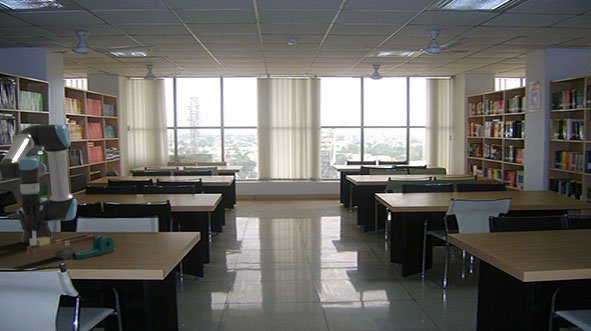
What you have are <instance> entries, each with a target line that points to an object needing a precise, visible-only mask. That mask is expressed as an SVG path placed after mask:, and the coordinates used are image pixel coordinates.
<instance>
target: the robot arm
mask: <svg viewBox="0 0 591 331" xmlns="http://www.w3.org/2000/svg"><path fill="white" fill-rule="evenodd" d="M71 138H72V137H71V134H70V131H69V128H68V127H67V126H66V125H65V124H56V123H55V124H33V125H30V126H27V127H25V128H23V129H22V130H20V131H19V132H18V133H16V135H15V136H14V137H13V143H12V144H11V146H10V148H9V149H8V151H7V152H6V153H5V155H4V157H3V158H2V159H1V161H0V180H17V179H19V184H20V185H19V187H20V193H21V194H20V199H21V200H20V201H21V205H20V208H19V209H17V210H15V213H16V215H18V220H19V222H20V225H21V229H22V230H23V233H22V236H21V243H23V244H29V246H31V245H32V246H34V245H37V242H36V238H39V237H44V236H45V237H50V241H53V239H54V238H53V237H54V236H53V233H52V231H51V229H50V227H49V222H58V221H59V222H60V221H61V222H62V221H71V220H74V219H75V217H76V214H77V209H78V200H77V199H76V198H74V196H73V194H72V193H70V185H69V175H68V165H67V157H66V152H67V151H68V149H69V147H70V146H71V143H72V140H71ZM33 148H43V150H44V152H45V153H46V154H47V159H48V160H47V161H48V167H49V168H48V169H49V175H50V184H51V186H50V187H51V193H52V195H51V196H50V197H49V199H48V198H47V197H41V193H40V191H41V190H40V178H42V177H43V176H44V175H45V174H46V173H47V166H46V164H45V163H43V162H42V161H39V160H38V159H37V158H34V157H33V158H31V157H30V158H25V157H26V155H27V154H28V152H29V151H30V150H32V149H33Z"/></svg>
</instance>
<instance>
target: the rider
mask: <svg viewBox="0 0 591 331" xmlns="http://www.w3.org/2000/svg"><path fill="white" fill-rule="evenodd" d="M36 242H37V245H34V247H41V246H46V245H50V242H51V240H50V237H45V236H44V237H39V238H36Z"/></svg>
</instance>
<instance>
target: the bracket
mask: <svg viewBox="0 0 591 331" xmlns="http://www.w3.org/2000/svg"><path fill="white" fill-rule="evenodd" d="M114 244H115V243H114V240H113V238H112V237H110V236H102V235H98V236H95V239H94V241H93V243H92V248H90V249H86V250H82V251H77V252H75V253H74V258H75V259H76V258H77V259H76V260H82V259H83V258H84V259H88V258H92V257H93V258H94V257H97V256H100V255H101V256H102V255H105V254H108V253H113V252H114V251H115V249H114V248H115V247H114V246H115V245H114Z"/></svg>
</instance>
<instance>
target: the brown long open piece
mask: <svg viewBox="0 0 591 331" xmlns="http://www.w3.org/2000/svg"><path fill="white" fill-rule="evenodd" d="M95 238H96V235H95V234H94V235H93V234H85V233H84V234H80V235H75V236H71V237H65V238H61V239H56V240H50V245H46V246H41V247H34V246H32V245H28V246H26V254H27V255H32V256H33V255H34V256H40V255H45V254H48V253H53V257H54V258H56V259H57V258H58V259H63V260H66V259H71V258H74V252H73V251H74V250H73V248H75V247H79V246H83V245H89V244H93V241H94V239H95Z"/></svg>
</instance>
